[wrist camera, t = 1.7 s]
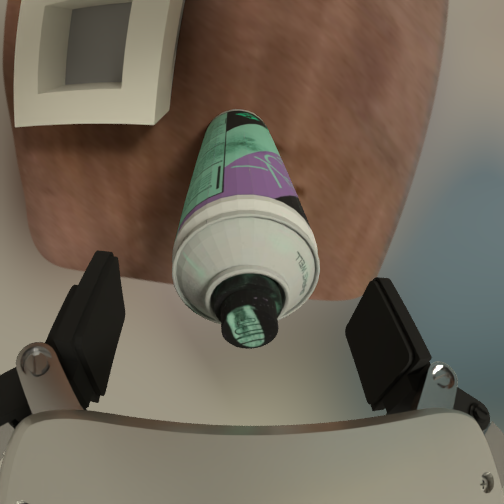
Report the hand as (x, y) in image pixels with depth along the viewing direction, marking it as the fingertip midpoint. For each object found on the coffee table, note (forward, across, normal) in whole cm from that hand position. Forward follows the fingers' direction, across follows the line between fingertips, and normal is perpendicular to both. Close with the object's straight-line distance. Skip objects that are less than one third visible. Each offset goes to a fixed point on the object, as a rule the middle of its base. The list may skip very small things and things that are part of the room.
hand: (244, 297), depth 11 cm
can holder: (+18, +12, -9) cm, 23 cm away
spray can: (+18, 0, -1) cm, 18 cm away
